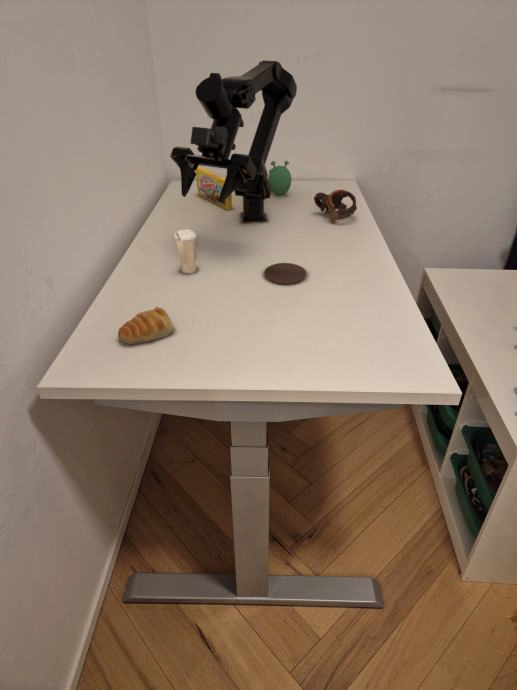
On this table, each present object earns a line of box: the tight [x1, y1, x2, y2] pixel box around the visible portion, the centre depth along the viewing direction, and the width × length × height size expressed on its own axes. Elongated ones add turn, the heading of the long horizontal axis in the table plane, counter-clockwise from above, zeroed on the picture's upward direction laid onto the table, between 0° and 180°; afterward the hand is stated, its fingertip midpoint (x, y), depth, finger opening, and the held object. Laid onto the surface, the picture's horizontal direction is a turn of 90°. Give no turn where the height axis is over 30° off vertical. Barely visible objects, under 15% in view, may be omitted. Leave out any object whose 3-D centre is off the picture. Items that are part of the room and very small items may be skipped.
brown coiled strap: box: [313, 189, 358, 224], centre depth 126 cm, size 12×10×8 cm
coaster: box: [263, 262, 307, 286], centre depth 101 cm, size 9×9×1 cm
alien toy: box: [267, 160, 292, 196], centre depth 140 cm, size 7×8×10 cm
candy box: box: [195, 166, 233, 211], centre depth 135 cm, size 16×2×8 cm, turn 37°
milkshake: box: [173, 228, 197, 274], centre depth 100 cm, size 5×5×10 cm
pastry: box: [117, 306, 174, 345], centre depth 82 cm, size 9×7×4 cm
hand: (201, 199), depth 101 cm, fingers open, 9 cm apart
